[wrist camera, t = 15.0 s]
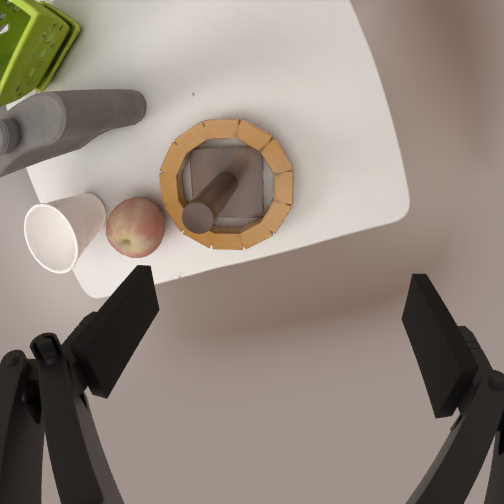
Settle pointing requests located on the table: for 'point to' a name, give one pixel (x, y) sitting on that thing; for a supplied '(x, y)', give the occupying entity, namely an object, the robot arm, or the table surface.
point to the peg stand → (224, 186)
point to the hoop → (253, 138)
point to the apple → (135, 227)
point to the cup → (63, 230)
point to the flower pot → (31, 46)
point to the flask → (62, 123)
